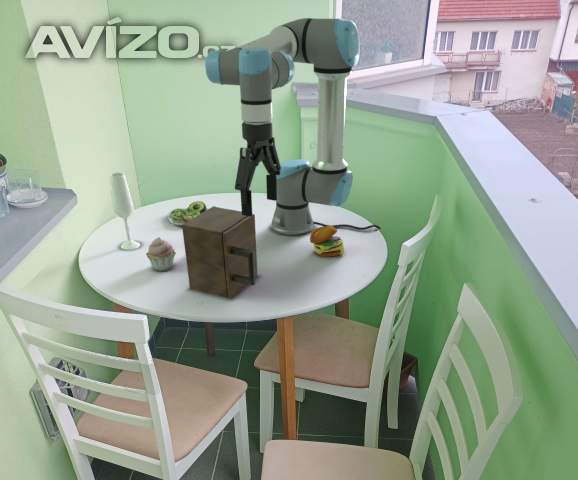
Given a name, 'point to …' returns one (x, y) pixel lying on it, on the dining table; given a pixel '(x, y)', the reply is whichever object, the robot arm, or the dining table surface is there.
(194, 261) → the cupboard
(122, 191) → the champagne flute
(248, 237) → the cupboard door
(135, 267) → the dining table surface
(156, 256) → the cupcake
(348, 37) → the robot arm
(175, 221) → the plate of green donuts
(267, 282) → the dining table surface
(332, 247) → the cheeseburger
